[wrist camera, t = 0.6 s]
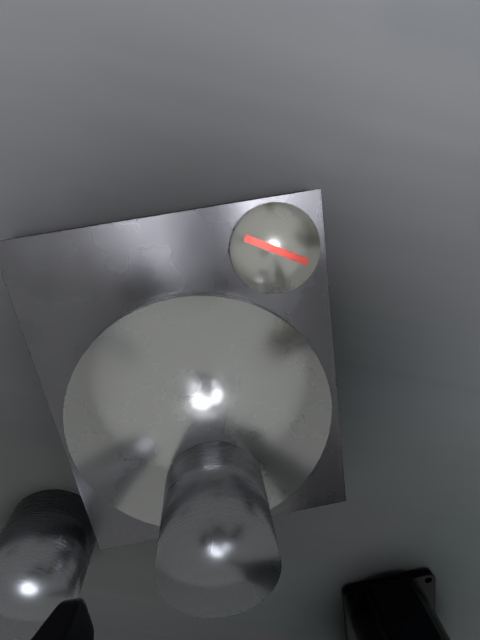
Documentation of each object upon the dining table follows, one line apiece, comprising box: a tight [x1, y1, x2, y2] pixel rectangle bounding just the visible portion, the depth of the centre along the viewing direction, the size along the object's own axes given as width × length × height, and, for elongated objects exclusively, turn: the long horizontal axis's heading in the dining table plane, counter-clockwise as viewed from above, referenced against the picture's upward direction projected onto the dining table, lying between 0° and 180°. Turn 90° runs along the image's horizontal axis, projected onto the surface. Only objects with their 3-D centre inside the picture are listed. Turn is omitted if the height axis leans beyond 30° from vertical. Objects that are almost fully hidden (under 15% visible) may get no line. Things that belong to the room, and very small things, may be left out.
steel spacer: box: [0, 490, 96, 640], centre depth 20 cm, size 5×5×5 cm
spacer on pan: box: [154, 441, 281, 618], centre depth 17 cm, size 5×5×5 cm
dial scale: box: [0, 189, 346, 550], centre depth 19 cm, size 17×14×3 cm
